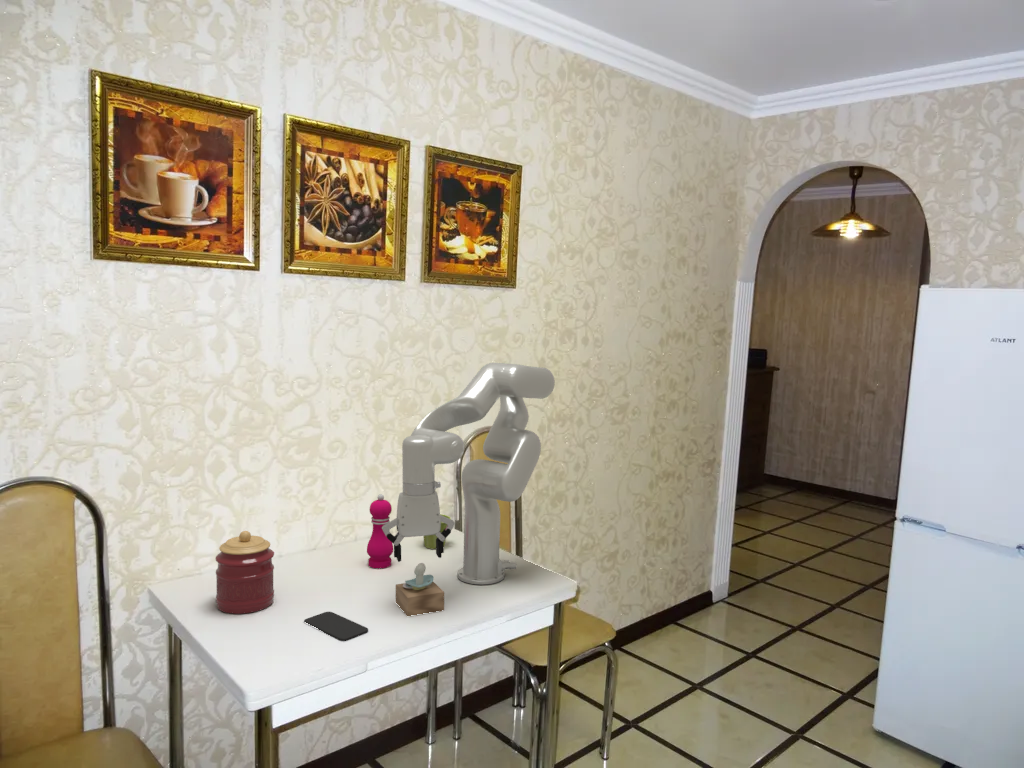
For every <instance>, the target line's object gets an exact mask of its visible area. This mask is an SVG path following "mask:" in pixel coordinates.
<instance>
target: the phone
mask: <svg viewBox="0 0 1024 768" xmlns="http://www.w3.org/2000/svg"><path fill="white" fill-rule="evenodd" d="M303 621H304V622H306V623H308V624H310V625H312V626H314V627H316V628H318V629H319V630H321V631H323V632H324V634H325V633H326V635H327V634H328V635H327V636H329V635H330V636H329V637H332V638H334V639H335V640H338V641H340V642H348V641H350V640H354V639H355V638H357V637H360V636H364V635H366V634H367V633H369V628H368V627H366V626H364V625H362V624H359V623H358V622H355V621H353V620H351V619H348V618H346V617H344V616H342V615H340V614H337V613H335V612H332V611H324V612H322V613H319V614H317V615H316V614H315V615H313V616H311V617H307V618H305V619H304V620H303ZM304 622H303V623H304ZM319 630H318V631H319ZM321 631H320V632H321ZM323 632H322V633H323Z"/></svg>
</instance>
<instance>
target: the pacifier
mask: <svg viewBox="0 0 1024 768" xmlns="http://www.w3.org/2000/svg"><path fill="white" fill-rule="evenodd" d="M426 570H427V569H426V564H425V563H423V562H420V563H418V564H417V565H416V566H415V567H414V576H415V577H414V578H412V579H408V580H405V582H403V583H404V584H403V587H404V588H407V589H413V590H421V589H424V588H425V587H426V586H428V585H430V584H431V583H432V582H434V580H435V579H434V576H433V575H432V574H424V573H425V572H426ZM428 581H430V582H428ZM408 585H410V586H408Z"/></svg>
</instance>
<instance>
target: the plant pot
mask: <svg viewBox="0 0 1024 768" xmlns="http://www.w3.org/2000/svg"><path fill="white" fill-rule="evenodd" d="M440 515H442V516H444V517H447V518H449V519H451V520H452V518H451V516H449V515H446V514H443V513H440ZM446 527H447V524H446V523H443V522H441V529H440V532H442V531H443V530H444V529H445V528H446ZM422 537H423V545H424V547H425V548H427V549H430V550H431V549H432V550H434V549H435V550H436V539H437V536H436V535H427V536H422ZM446 541H447V537H446V538H445V541H444V547H445V546H446Z"/></svg>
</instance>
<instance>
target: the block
mask: <svg viewBox="0 0 1024 768" xmlns="http://www.w3.org/2000/svg"><path fill="white" fill-rule="evenodd" d="M428 582H430V581H428ZM404 583H405V582H403V583H397V584H395V602H396V603H397V604H398V605H399V606H400V607H399V606H398V605H397V604H396V603H395V604H396V605H397V606H398V607H399V609H400V608H401V609H402V610H403V611H404V612H403V611H402V610H401V609H400V610H401V611H402V612H403V614H406V615H407V616H410V617H412V616H411V615H416V616H418V615H417V614H422V615H424V614H423V613H428V614H430V613H429V612H433V613H437V612H436V611H439V612H443V611H442V610H444V611H445V591H444V590H443V589H442V588H441V587H440V586H439V585H438V584H436V583H435V581H433V582H432V583H431V584H430V585H428V586H426V587H425V588H424V589H421V590H413V589H407V588H404V587H403V584H404ZM408 586H410V585H408ZM406 615H405V616H406ZM407 616H406V617H407Z"/></svg>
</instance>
